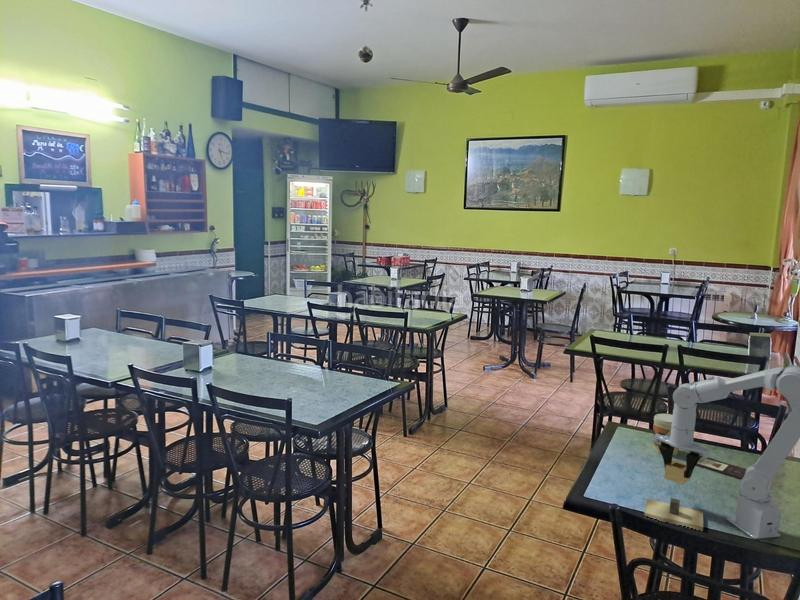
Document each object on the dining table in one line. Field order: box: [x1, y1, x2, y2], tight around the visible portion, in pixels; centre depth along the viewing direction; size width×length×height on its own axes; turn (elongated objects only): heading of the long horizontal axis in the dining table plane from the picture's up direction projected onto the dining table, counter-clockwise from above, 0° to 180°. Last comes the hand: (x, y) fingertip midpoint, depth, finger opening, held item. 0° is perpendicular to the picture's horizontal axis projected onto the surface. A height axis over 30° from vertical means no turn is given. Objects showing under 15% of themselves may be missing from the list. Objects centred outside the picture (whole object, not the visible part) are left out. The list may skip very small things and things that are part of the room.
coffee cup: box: [652, 413, 679, 456], centre depth 200 cm, size 9×9×12 cm
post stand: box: [643, 497, 704, 532], centre depth 156 cm, size 14×9×4 cm, turn 63°
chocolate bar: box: [695, 456, 747, 481], centre depth 187 cm, size 9×1×18 cm
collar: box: [664, 459, 692, 486], centre depth 162 cm, size 5×5×4 cm
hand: (677, 473), depth 162 cm, fingers closed on collar, 5 cm apart
